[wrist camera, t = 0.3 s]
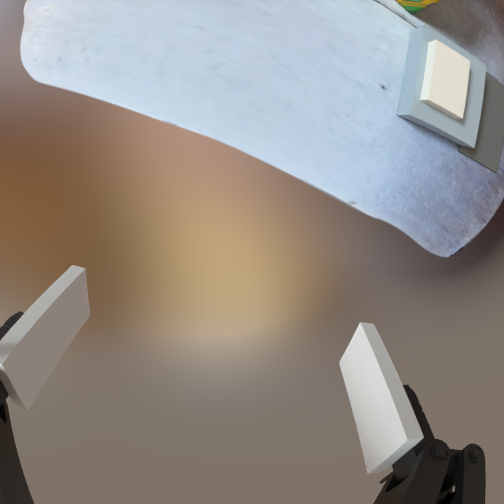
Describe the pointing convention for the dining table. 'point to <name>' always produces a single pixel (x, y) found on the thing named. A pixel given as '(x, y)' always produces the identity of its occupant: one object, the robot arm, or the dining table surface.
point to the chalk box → (416, 4)
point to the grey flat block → (428, 115)
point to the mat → (489, 127)
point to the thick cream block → (445, 79)
